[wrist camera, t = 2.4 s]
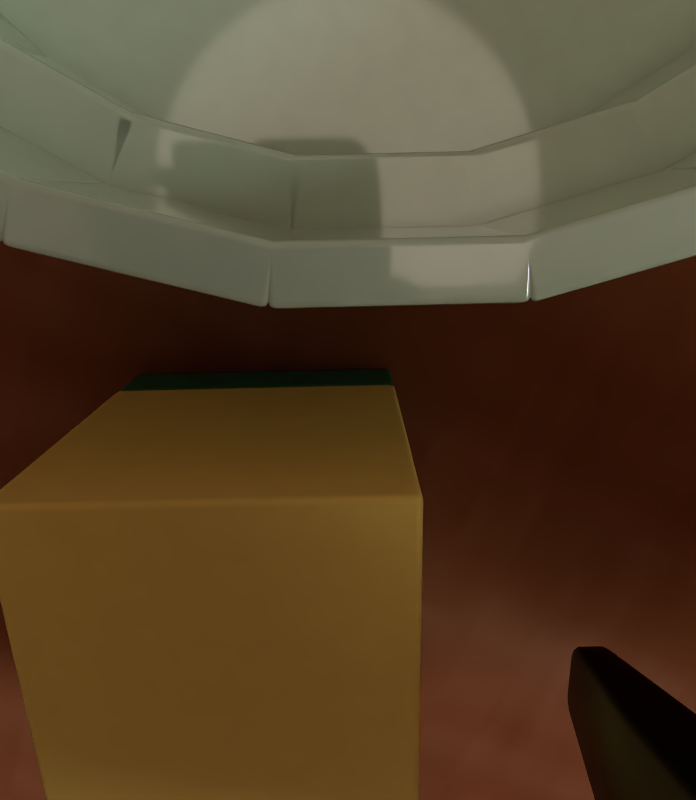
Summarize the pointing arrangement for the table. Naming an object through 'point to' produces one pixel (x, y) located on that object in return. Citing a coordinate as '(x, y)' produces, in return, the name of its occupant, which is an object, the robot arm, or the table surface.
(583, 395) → the table surface
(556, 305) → the table surface
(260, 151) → the bowl
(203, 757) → the sponge
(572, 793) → the table surface
